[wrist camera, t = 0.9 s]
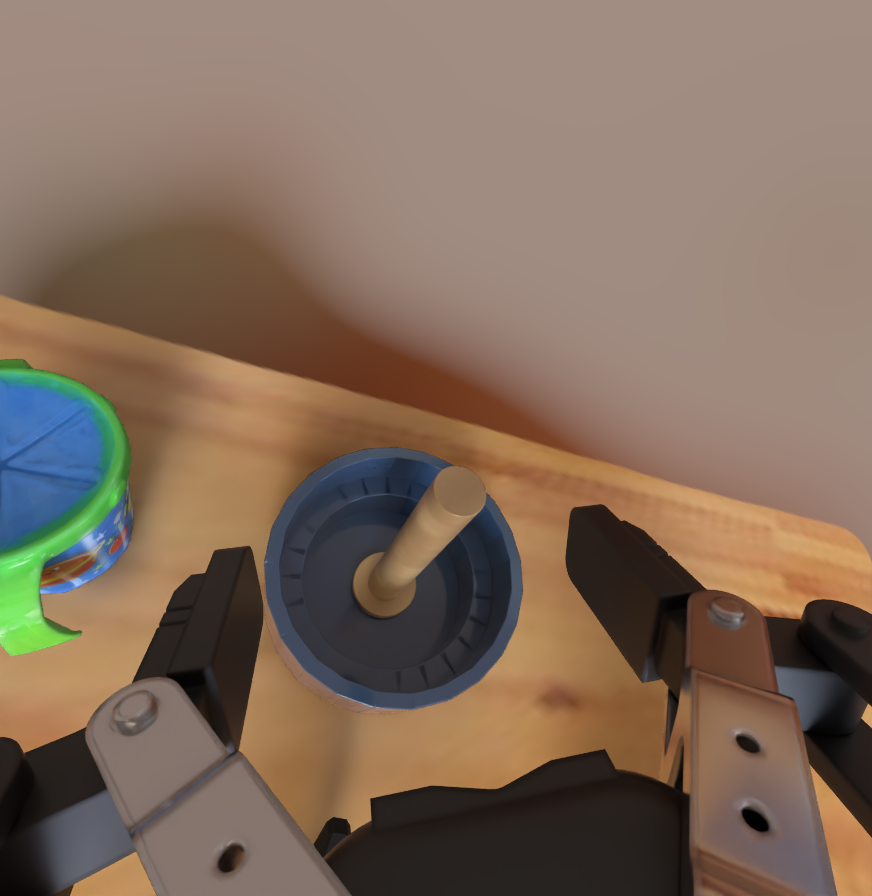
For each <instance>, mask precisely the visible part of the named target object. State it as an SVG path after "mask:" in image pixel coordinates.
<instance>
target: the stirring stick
mask: <svg viewBox="0 0 872 896" xmlns="http://www.w3.org/2000/svg"><path fill="white" fill-rule="evenodd" d="M485 502H486V490H485V486H484V484H483V482H482V481H481V479H480V478H479V477H478V476H477V475H476V474H475V473H474V472H473V471H471V470H469V469H467V468H465V467H461V466H450V467H447V468H444V469H443V470H441V471H440V472H439V473H438V474H437V476H436V477H435V479H434V480H433V482H432V483H431V485H430V486H429V488H428V489H427V491H426V492H425V494H424V495H423V497H422V498H421V499H420V501H419V502H418V504H417V505H416V507H415V508H414V510H413V511H412V513H411V514H410V516H409V517H408V519H407V520H406V522H405V523H404V525H403V526H402V528H401V529H400V531H399V532H398V534H397V535H396V537H395V538H394V540H393V541H392V543H391V544H390V546H389V547H388V549H387V550H386V552H379V553H375V554H372V555H370V556H368V557H367V558H365V559H364V560H363V561H362V562H361V563H360V564H359V566H358V567H357V569H356V571H355V573H354V575H353V579H352V593H353V597H354V599H355V601H356V603H357V605H358V606H359V607H360V608H361V610H363V611H364V612H365V613H367V614H368V615H370V616H372V617H376V618H384V619H385V618H391V617H394V616H396V615H398V614H400V613H401V612H403V611H404V610H405V609H406V608H407V607H408V606H409V605H410V603H411V602H412V600H413V598H414V595H415V591H416V579H415V578H416V576H417V575H418V574H419V573H420V572H421V571H422V570H423V569H424V568H425V567H426V566H427V565H428V564H429V563H430V562H431V561H432V560H433V559H434V558H435V557H436V556H437V555H438V554H439V553H440V552H441V551H442V550H443V549H444V548H445V547H446V546H447V545H448V544H449V543H450V542H451V541H452V540H453V539H454V538H455V536H456V535H457V534H458V533H459V532H460V531H461V530H462V529H463V528H464V527H465V526H466V525H467V524H468V523H469V522H470V521H471V520H472V519H473V518H474V517H475V516H476V515H477V514H478V513H479V512H480V511H481V510H482V508H483V507H484V505H485Z"/></svg>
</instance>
